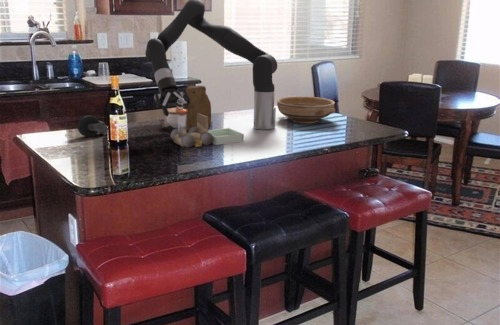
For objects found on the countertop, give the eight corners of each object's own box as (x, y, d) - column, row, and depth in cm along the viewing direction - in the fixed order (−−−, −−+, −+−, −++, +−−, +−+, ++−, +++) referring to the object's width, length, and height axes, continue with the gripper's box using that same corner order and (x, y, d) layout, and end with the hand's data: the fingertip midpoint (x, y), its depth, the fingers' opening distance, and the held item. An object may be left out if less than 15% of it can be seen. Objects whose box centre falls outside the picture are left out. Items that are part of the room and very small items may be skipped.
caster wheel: (83, 141, 211) (116, 133, 220) (79, 119, 208) (112, 111, 217) (77, 139, 215) (110, 130, 224) (73, 117, 212) (106, 109, 221)
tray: (228, 134, 222) (228, 127, 221) (243, 141, 211) (243, 134, 210) (201, 138, 216) (201, 131, 215) (215, 144, 205) (215, 137, 204)
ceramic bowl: (352, 124, 247) (354, 104, 244) (308, 131, 231) (309, 109, 228) (302, 112, 275) (302, 93, 273) (260, 117, 259) (260, 98, 256)
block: (190, 133, 224) (189, 87, 218) (184, 129, 230) (183, 85, 225) (212, 131, 229) (212, 86, 223) (206, 127, 235) (206, 84, 229)
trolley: (199, 137, 217) (198, 112, 213) (213, 144, 205) (213, 117, 202) (170, 140, 210) (170, 114, 207) (183, 148, 199) (183, 120, 196)
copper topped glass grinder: (185, 134, 208) (184, 108, 205) (190, 137, 204) (189, 110, 201) (174, 135, 206) (173, 109, 203) (179, 138, 202) (178, 111, 199)
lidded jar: (191, 124, 242) (190, 104, 239) (187, 129, 232) (187, 108, 229) (168, 123, 242) (168, 104, 240) (164, 128, 232) (163, 108, 229)
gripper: (179, 85, 218) (190, 117, 213) (147, 88, 212) (158, 121, 206) (183, 75, 212) (195, 107, 207) (151, 77, 206) (162, 111, 200)
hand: (177, 114), depth 206 cm, fingers open, 8 cm apart
